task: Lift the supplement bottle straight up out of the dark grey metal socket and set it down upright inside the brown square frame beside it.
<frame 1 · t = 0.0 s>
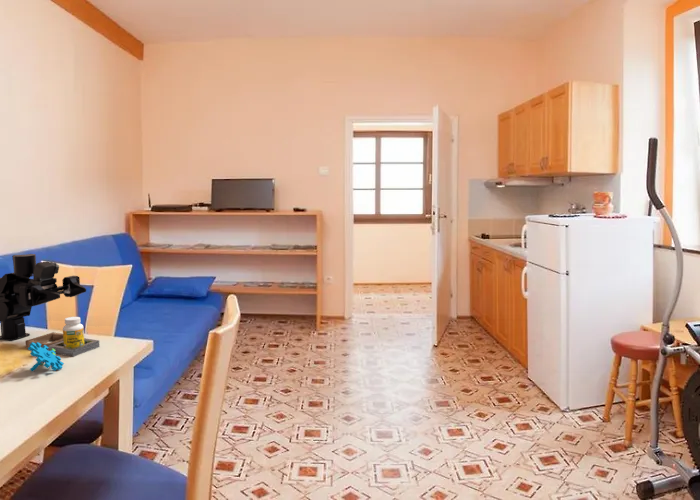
hand: (73, 293, 147), 17 cm above the table, tool horizontal, fingers open, 9 cm apart
socket: (74, 349, 146), on the table
gear: (47, 370, 131), on the table
brown square frame: (51, 344, 150), on the table
supplement bottle: (74, 350, 146), resting in socket
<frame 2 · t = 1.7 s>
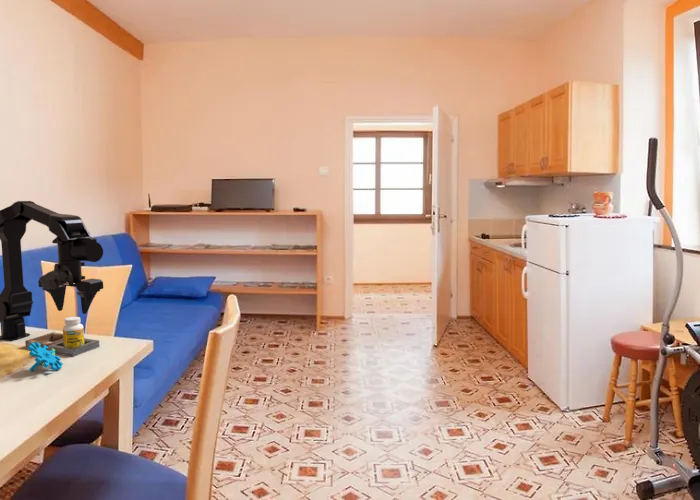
hand: (72, 312, 145), 11 cm above the table, tool pointing down, fingers open, 9 cm apart
nothing on the table moved.
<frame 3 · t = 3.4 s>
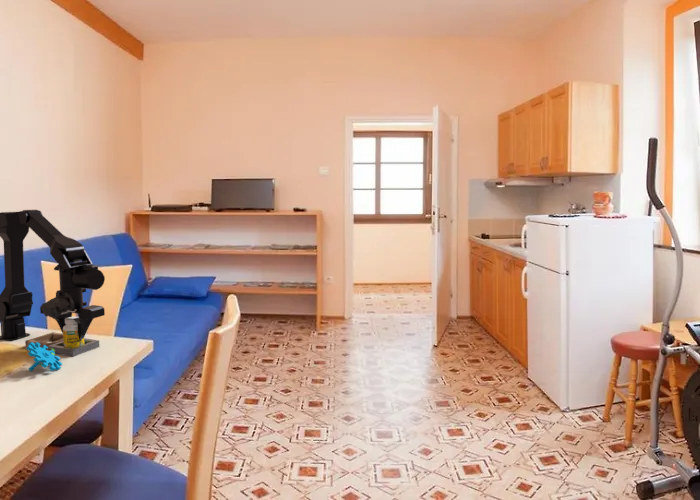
hand: (73, 338, 146), 4 cm above the table, tool pointing down, fingers closed on supplement bottle, 5 cm apart
supplement bottle: (74, 350, 146), resting in socket, touching gripper
everything else where it was.
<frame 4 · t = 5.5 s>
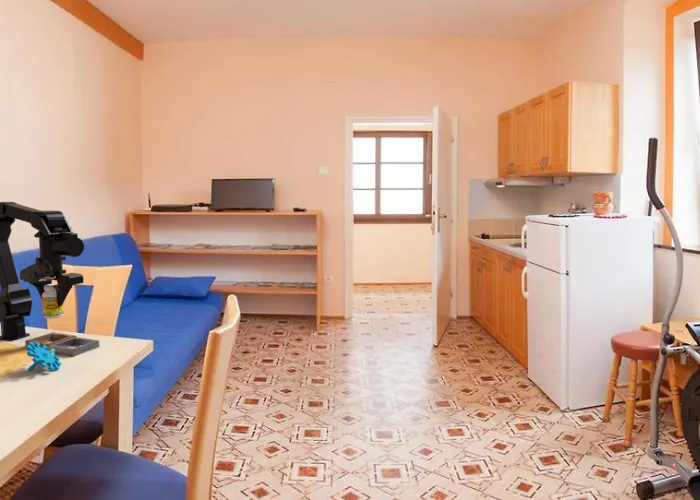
hand: (52, 305, 148), 13 cm above the table, tool pointing down, fingers closed on supplement bottle, 5 cm apart
supplement bottle: (53, 317, 149), point 9 cm above the table, touching gripper
everything else where it was.
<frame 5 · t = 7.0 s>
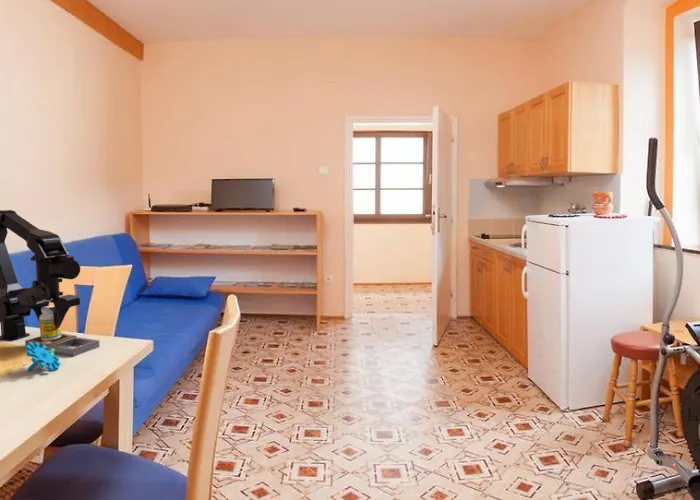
hand: (50, 326, 150), 6 cm above the table, tool pointing down, fingers closed on supplement bottle, 5 cm apart
supplement bottle: (51, 338, 150), point 2 cm above the table, touching gripper
everything else where it was.
when the fingers open (5 cm above the table, at t = 7.9 s): supplement bottle drops 1 cm, resting in brown square frame.
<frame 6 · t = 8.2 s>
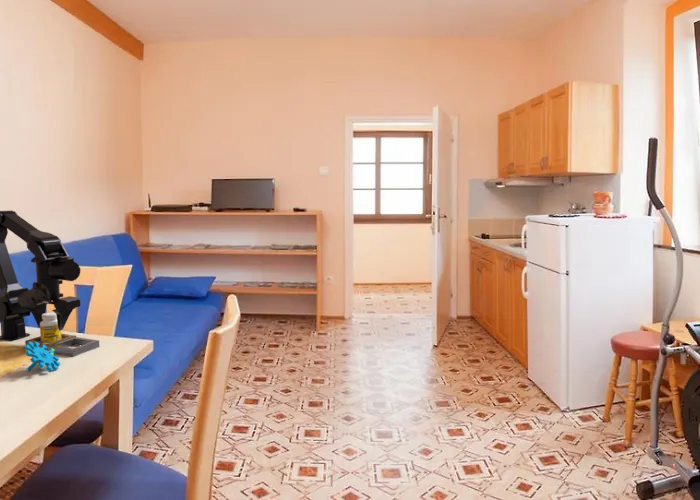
hand: (50, 328, 150), 5 cm above the table, tool pointing down, fingers open, 8 cm apart
supplement bottle: (51, 345, 150), resting in brown square frame
everything else where it was.
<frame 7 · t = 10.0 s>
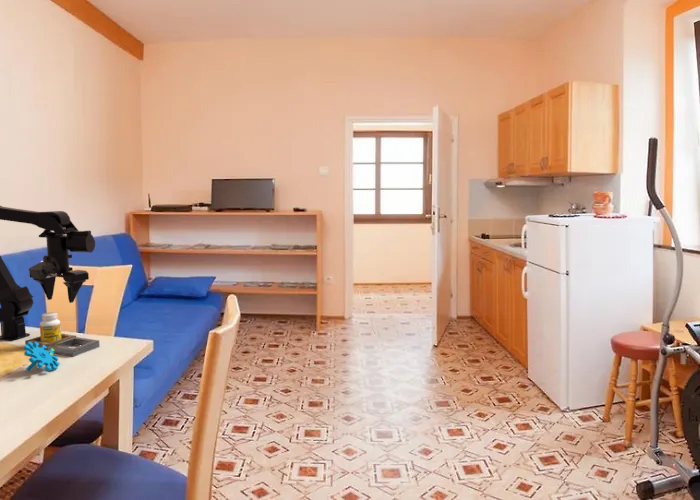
hand: (60, 301, 155), 12 cm above the table, tool pointing down, fingers open, 9 cm apart
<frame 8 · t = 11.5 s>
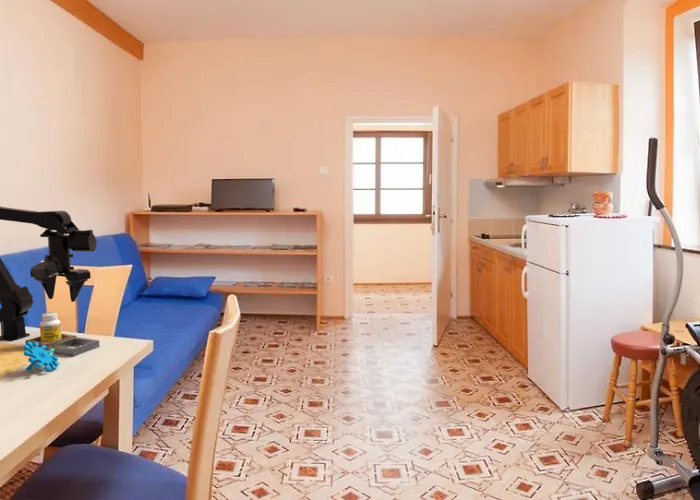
hand: (61, 300, 156), 12 cm above the table, tool pointing down, fingers open, 9 cm apart
at the end: supplement bottle 0.1 cm off-centre on the brown square frame, point 0.0 cm above the brown square frame's base; supplement bottle tilted 0°; the gripper is holding nothing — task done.
